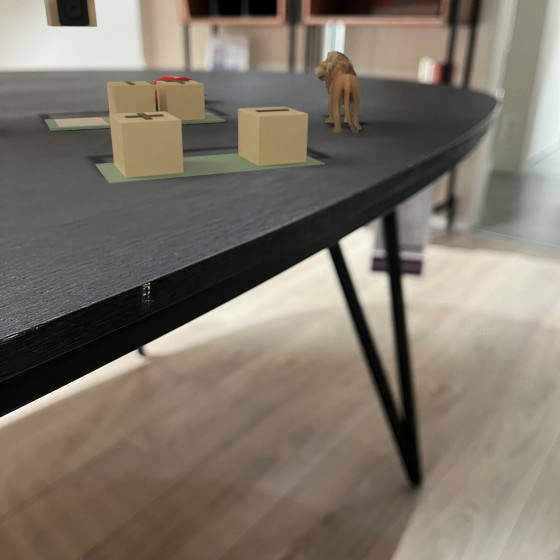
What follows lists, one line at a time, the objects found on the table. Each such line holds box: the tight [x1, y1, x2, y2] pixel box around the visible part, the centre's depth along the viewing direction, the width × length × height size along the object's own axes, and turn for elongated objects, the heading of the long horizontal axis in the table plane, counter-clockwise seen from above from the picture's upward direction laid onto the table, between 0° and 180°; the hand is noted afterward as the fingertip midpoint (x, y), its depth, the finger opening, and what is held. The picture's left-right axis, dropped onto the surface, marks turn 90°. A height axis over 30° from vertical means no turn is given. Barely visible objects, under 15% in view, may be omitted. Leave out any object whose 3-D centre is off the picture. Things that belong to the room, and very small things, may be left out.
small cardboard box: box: [43, 0, 98, 28], centre depth 66 cm, size 5×5×5 cm
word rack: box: [44, 79, 226, 132], centre depth 74 cm, size 22×7×5 cm, turn 115°
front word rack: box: [95, 106, 326, 184], centre depth 52 cm, size 20×7×5 cm, turn 115°
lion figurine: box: [313, 50, 363, 134], centre depth 73 cm, size 15×5×9 cm, turn 10°
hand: (71, 23), depth 67 cm, fingers closed on small cardboard box, 5 cm apart
